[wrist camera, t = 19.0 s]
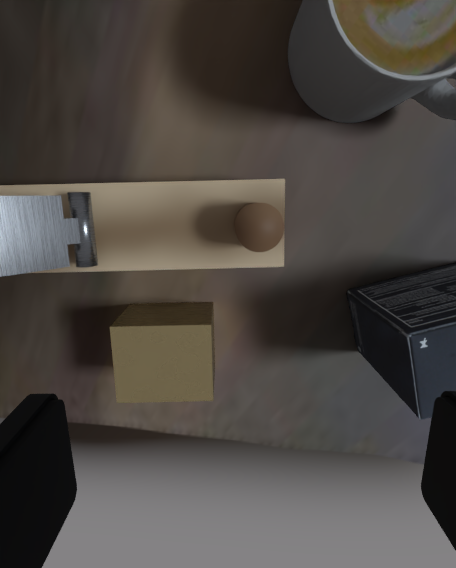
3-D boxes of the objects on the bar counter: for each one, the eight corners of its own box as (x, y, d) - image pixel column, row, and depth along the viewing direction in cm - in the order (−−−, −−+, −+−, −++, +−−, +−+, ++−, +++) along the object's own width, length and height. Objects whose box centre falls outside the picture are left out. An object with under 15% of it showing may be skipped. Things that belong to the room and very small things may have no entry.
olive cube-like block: (135, 366, 33) (116, 402, 27) (130, 303, 31) (109, 326, 25) (215, 365, 33) (213, 400, 27) (213, 301, 31) (211, 324, 25)
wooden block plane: (1, 189, 29) (-81, 184, 21) (274, 182, 29) (293, 175, 21) (13, 262, 30) (-60, 284, 22) (274, 256, 30) (291, 275, 22)
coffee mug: (260, 44, 27) (282, -47, 17) (368, -59, 25) (459, -222, 16) (365, 184, 29) (437, 176, 19) (469, 97, 28) (603, 41, 18)
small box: (356, 356, 33) (418, 427, 22) (343, 288, 31) (403, 331, 21) (473, 328, 32) (589, 387, 22) (465, 258, 31) (586, 287, 20)
